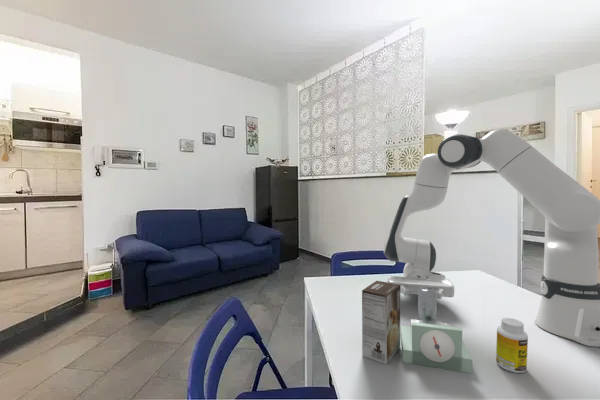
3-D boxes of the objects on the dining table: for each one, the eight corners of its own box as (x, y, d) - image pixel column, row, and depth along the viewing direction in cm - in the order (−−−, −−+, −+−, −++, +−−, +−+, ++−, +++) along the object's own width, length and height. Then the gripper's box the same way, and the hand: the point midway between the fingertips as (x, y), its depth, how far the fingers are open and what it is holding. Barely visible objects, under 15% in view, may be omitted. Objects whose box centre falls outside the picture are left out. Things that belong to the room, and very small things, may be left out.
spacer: (434, 330, 82) (435, 287, 81) (437, 338, 77) (438, 293, 77) (417, 327, 83) (417, 286, 82) (418, 335, 79) (419, 291, 78)
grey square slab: (448, 331, 75) (448, 323, 75) (456, 349, 66) (456, 341, 66) (410, 326, 77) (410, 319, 77) (413, 344, 69) (413, 335, 69)
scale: (458, 344, 74) (459, 309, 74) (472, 374, 62) (473, 333, 62) (400, 336, 78) (400, 303, 78) (403, 363, 66) (403, 325, 66)
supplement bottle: (520, 377, 61) (522, 330, 61) (491, 364, 66) (492, 320, 65) (531, 368, 64) (532, 323, 64) (502, 356, 69) (503, 313, 68)
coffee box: (376, 339, 77) (376, 279, 76) (400, 347, 73) (401, 284, 72) (361, 356, 69) (361, 289, 69) (387, 366, 65) (388, 295, 65)
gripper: (387, 270, 107) (387, 281, 94) (449, 274, 101) (458, 287, 88) (387, 287, 107) (387, 301, 94) (448, 292, 101) (458, 308, 88)
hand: (422, 294), depth 91 cm, fingers open, 8 cm apart
